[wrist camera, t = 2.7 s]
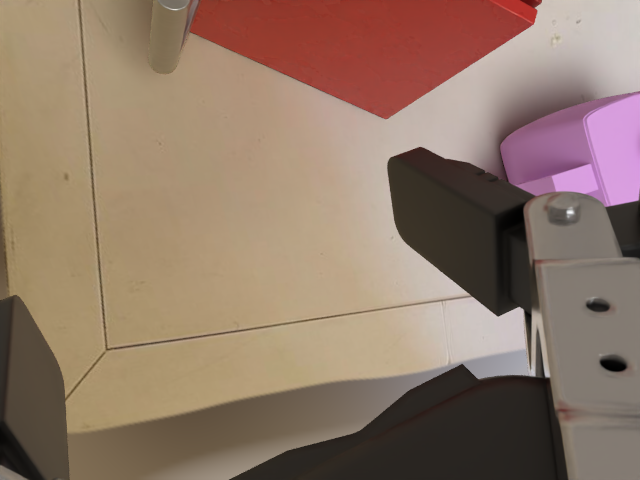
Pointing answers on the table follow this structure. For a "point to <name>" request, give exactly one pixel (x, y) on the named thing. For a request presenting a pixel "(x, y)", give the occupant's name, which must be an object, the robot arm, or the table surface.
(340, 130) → the table surface
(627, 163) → the teapot
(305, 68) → the door
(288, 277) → the table surface
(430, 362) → the table surface
